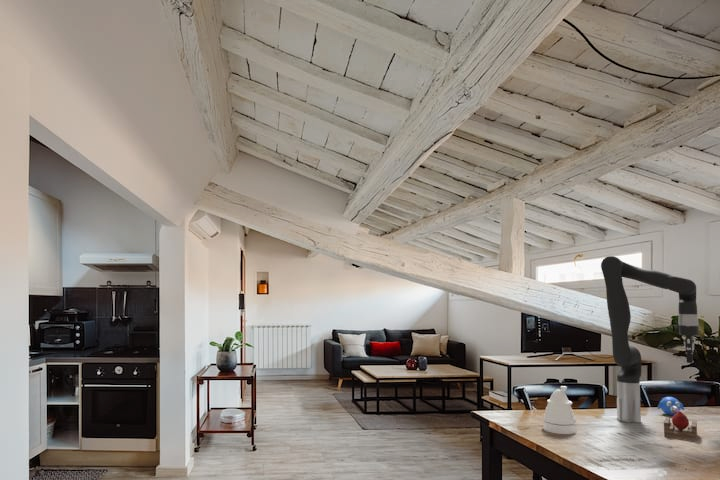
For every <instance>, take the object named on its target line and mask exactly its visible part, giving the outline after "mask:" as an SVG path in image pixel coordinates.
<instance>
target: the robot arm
mask: <svg viewBox="0 0 720 480" xmlns="http://www.w3.org/2000/svg"><path fill="white" fill-rule="evenodd" d="M600 269H601V273H602V275H603V280H604V282H605V290H606V304H607V306H606V307H607V311H608V312H607V313H608V317H609V325H610V331H611V340H612V341H611V344H612V345H611V346H612V347H611V348H612V358H613V361H614V363H615V364H616V365H617V366H619V368H620V367H621V370H620V371H619V373H618V374H616V382H617V383H616V386H617V389H616V391H617V397H616V418H617V419H618V421H620V422H626V423H641V422H642V419H641V418H642V415H641V413H642V412H641V409H642V408H641V389H640V388H641V386H640V385H641V383H640V382H641V381H640V379H641V377H642V355H641V352H640V350H639V349H638V348H637V347H635V346H633V345H632V346H631V345H630V343H629V336H628V332H629V329H630V328H629V327H630V325H631V318H632V316H631V309H630V302H629V298H628V296H627V293H626V291H625V288H624V282H623V278H626V279H631V280H633V281H638V282H641V283H643V284H647V285H649V286H653V287H657V288H660V289H663V290H669V291H672V292H674V293H677V294H678V301H679V302H678V317H677V318H678V320H677V321H678V334H679V335H680V336H684V337H685V339H683V344H684V352H685V355H686V363H688V364H693V363H694V362H693V361H694V351H695V350H694V349H695V342H696V341H695V339H694V337H698V336H699V335H700V330H699V329H700V328H699V327H700V325H699V317H698V304H697V284H696V283H695V282H694V281H693V280H691V279H689V278H684V277H681V276H680V277H679V276H674V275H672V274H670V273H666V272H661V271H658V270H654V269H649V268H643V267H639V266H636V265H632V264H629V263H626V262H625V261H622V260H621V259H620V258H618V257H617V256H614V255H609V256H605V258H603V260H602V261H601V263H600Z"/></svg>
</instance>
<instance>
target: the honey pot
mask: <svg viewBox="0 0 720 480" xmlns="http://www.w3.org/2000/svg"><path fill="white" fill-rule="evenodd" d="M567 389H568V386H566V385H561V386H560V388H558V389H556V390H554V391H553V393H551V395H550V398H549V399H547V400H546V401H547V404H546V407H545V411H544V414H543V416H542V418H543V422H542V423H543V425H542V426H543V427H542V428H543V430H544V431H545V432H549V433H552V434H561V435H573V434H576V433H577V423H576V422H577V418H576V416H575V413H574V410H573V408H572V405H573V402H572V401H571V400H569V398H568V396H567V394H566V393H565V392H566V391H567Z"/></svg>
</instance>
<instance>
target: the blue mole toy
mask: <svg viewBox="0 0 720 480" xmlns="http://www.w3.org/2000/svg"><path fill="white" fill-rule="evenodd" d="M657 409H658V410H661V411H662V412H663V413H664V414H667V415H668V414H669V415H668V416H674V415H675V414H676V413H678V410H679V411H681V410H682V411H685V407H684V405H683V403H682V402H680V401H679V400H678V399H677V398H675V397H673V396H665V397H662V399H661V400H660V401H659V403H658V406H657Z"/></svg>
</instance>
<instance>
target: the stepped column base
mask: <svg viewBox="0 0 720 480" xmlns="http://www.w3.org/2000/svg"><path fill="white" fill-rule="evenodd" d="M663 437H665V438H670V439H671V438H672V439H679V440H684V439H686V440H685V441H691V440H692V442H697V439H698V421H697V420H692V421H691V424H689V425H688V427H687V428H685V429H684V430H682V431H680V430H678V429H677V428H676V427H675V426H674V425H673V423H672V422H671V417H668V416H667V417H665V418H664V421H663Z"/></svg>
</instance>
